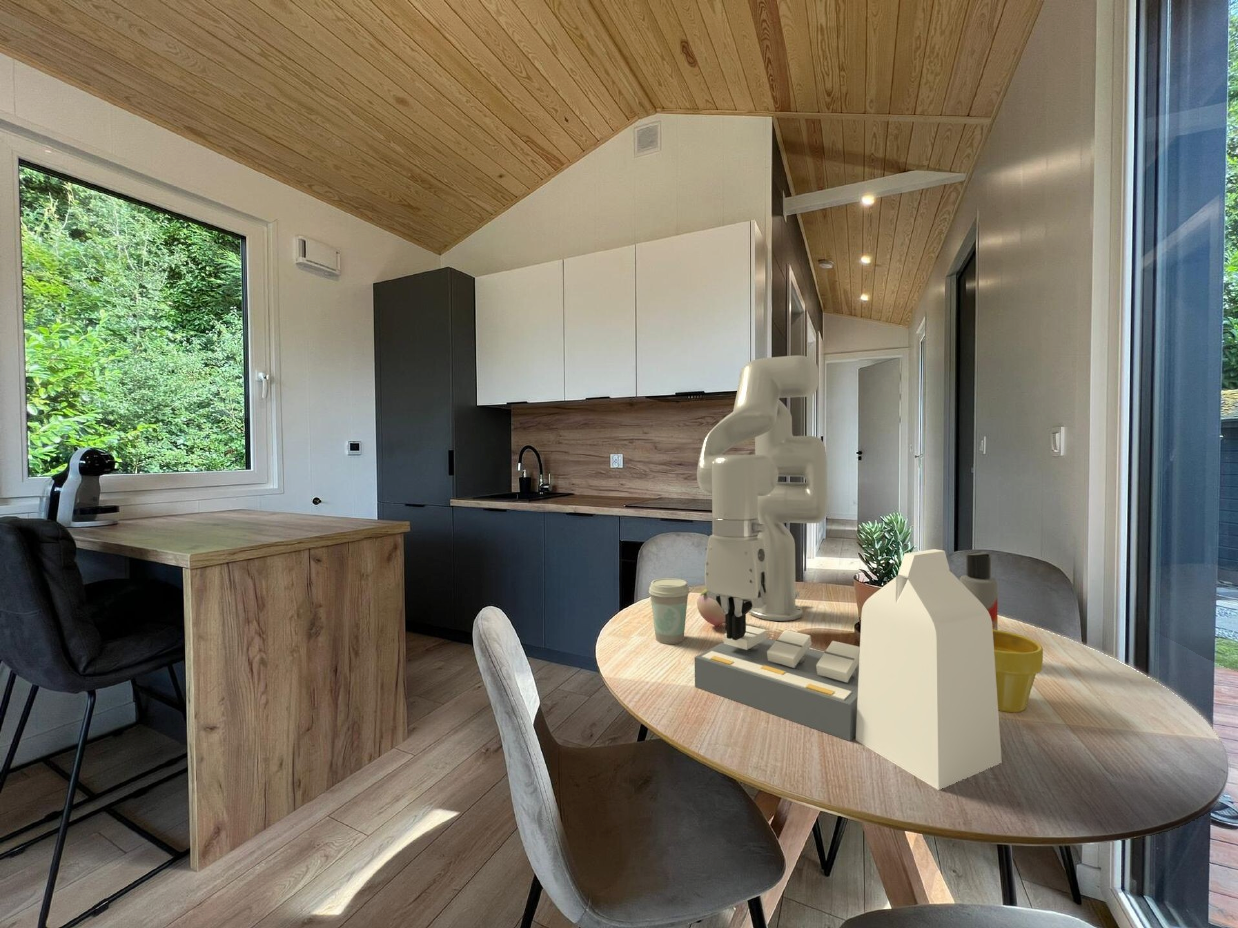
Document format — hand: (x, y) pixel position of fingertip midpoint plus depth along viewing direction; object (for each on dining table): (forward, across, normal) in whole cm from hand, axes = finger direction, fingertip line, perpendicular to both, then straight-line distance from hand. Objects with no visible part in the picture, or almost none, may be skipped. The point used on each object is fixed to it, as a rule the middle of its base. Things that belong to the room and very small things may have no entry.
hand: (735, 636), depth 87 cm
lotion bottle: (+8, -29, -38) cm, 48 cm away
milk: (+8, -28, +1) cm, 30 cm away
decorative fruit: (+8, +17, -23) cm, 29 cm away
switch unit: (+8, -8, -3) cm, 11 cm away
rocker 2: (+1, -8, -4) cm, 9 cm away
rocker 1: (+1, 0, -4) cm, 4 cm away
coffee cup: (+8, +21, -10) cm, 25 cm away
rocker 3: (+1, -16, -4) cm, 16 cm away
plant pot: (+8, -34, -21) cm, 40 cm away
